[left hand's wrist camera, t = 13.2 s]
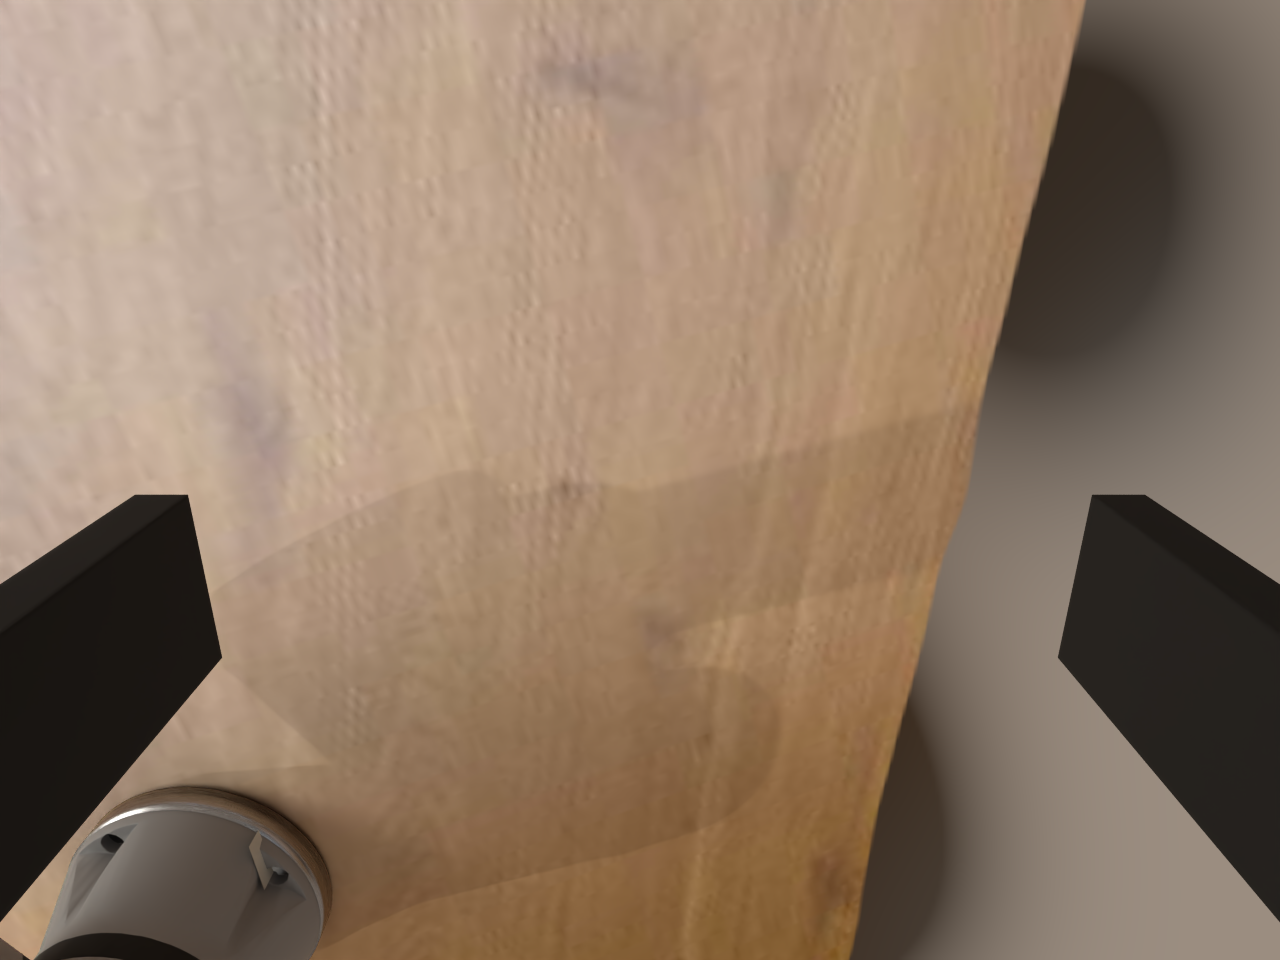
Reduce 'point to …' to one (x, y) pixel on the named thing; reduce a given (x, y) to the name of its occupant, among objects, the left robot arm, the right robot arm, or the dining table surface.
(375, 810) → the dining table surface
